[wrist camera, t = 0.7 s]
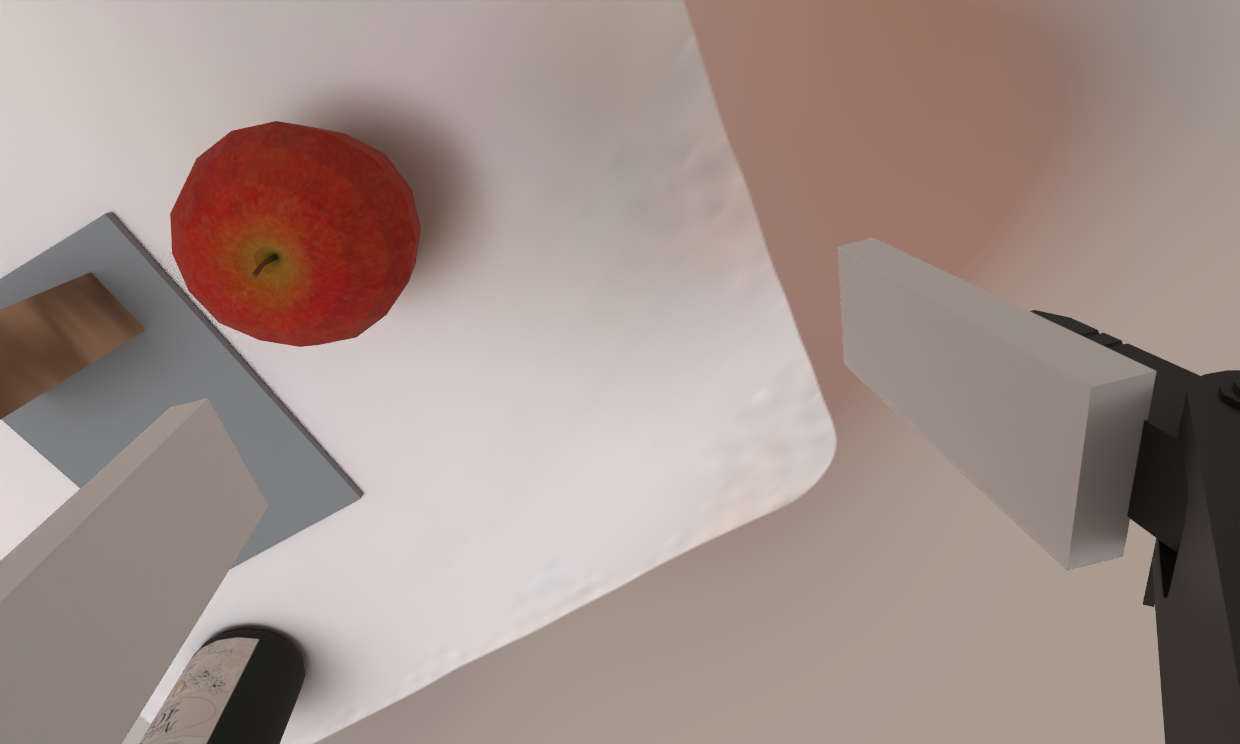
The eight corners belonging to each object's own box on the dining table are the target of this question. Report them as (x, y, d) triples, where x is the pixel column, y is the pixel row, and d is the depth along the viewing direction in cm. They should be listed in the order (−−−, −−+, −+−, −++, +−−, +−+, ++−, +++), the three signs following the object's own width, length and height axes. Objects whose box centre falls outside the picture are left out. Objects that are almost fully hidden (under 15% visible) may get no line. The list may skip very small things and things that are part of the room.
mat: (-84, 332, 37) (-93, 336, 36) (111, 212, 35) (105, 214, 35) (198, 582, 46) (194, 588, 45) (362, 493, 44) (360, 498, 44)
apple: (410, 99, 35) (338, 105, 22) (460, 275, 39) (424, 365, 26) (219, 135, 34) (36, 162, 22) (291, 309, 39) (172, 416, 26)
